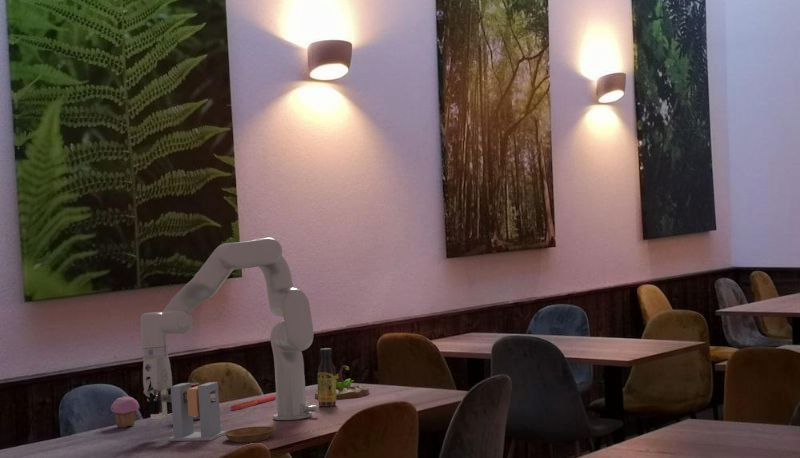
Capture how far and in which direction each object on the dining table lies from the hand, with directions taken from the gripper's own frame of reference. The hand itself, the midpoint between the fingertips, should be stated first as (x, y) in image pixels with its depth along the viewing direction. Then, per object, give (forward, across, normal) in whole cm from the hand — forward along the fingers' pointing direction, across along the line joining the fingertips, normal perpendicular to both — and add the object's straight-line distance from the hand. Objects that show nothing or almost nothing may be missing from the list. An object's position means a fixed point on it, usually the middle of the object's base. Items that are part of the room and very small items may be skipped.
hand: (158, 411), depth 330 cm
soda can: (+8, +33, +6) cm, 35 cm away
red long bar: (+8, +63, -3) cm, 63 cm away
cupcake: (+8, +21, +24) cm, 33 cm away
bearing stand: (+8, 0, -12) cm, 15 cm away
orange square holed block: (+1, 0, -14) cm, 14 cm away
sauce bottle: (+8, +56, -34) cm, 66 cm away
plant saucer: (+8, -3, -31) cm, 32 cm away
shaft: (+2, 0, -8) cm, 9 cm away
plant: (+8, +81, -31) cm, 87 cm away
